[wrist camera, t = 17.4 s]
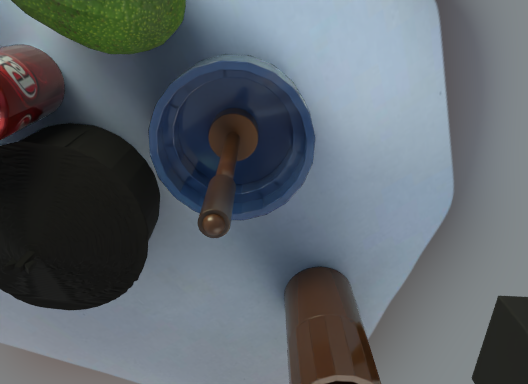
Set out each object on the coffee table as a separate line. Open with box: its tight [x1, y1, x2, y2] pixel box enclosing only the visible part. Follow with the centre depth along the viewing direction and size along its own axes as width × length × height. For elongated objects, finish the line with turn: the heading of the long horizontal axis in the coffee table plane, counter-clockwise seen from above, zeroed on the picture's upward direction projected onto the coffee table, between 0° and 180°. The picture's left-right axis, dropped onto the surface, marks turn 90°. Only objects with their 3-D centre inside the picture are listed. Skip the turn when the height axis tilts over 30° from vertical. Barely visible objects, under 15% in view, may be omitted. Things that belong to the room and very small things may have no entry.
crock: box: [284, 267, 381, 384], centre depth 48 cm, size 9×9×17 cm
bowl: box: [149, 54, 315, 220], centre depth 44 cm, size 16×16×6 cm
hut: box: [0, 123, 160, 310], centre depth 43 cm, size 18×18×15 cm
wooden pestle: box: [198, 108, 258, 238], centre depth 36 cm, size 5×5×22 cm
